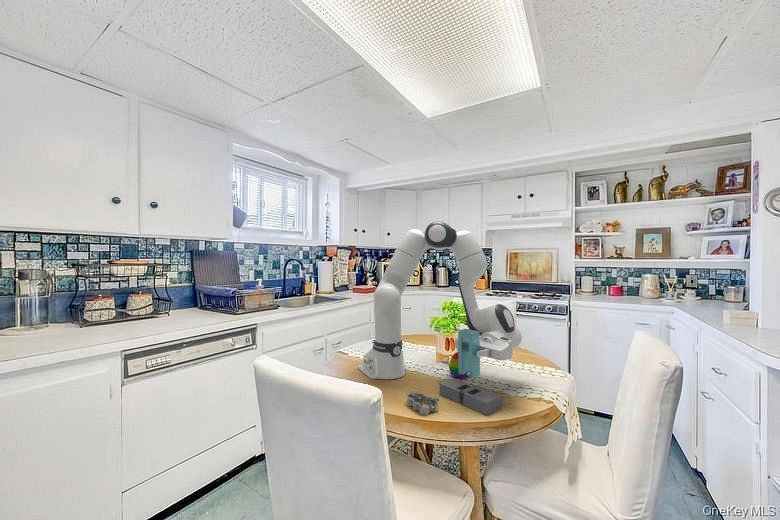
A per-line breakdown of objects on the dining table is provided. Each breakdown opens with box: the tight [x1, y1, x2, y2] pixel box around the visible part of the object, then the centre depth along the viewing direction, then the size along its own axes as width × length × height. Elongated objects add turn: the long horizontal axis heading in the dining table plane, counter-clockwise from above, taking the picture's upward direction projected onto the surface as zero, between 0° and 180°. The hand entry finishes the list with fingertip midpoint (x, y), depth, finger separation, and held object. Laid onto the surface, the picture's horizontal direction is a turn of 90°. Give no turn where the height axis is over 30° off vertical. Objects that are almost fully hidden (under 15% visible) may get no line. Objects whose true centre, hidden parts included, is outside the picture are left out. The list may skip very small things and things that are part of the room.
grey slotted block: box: [438, 377, 502, 416], centre depth 113 cm, size 20×8×4 cm, turn 38°
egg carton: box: [405, 391, 440, 415], centre depth 109 cm, size 11×8×4 cm
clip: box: [457, 328, 481, 379], centre depth 113 cm, size 6×4×15 cm, turn 39°
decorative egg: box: [448, 351, 469, 379], centre depth 136 cm, size 8×8×10 cm
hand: (467, 351), depth 112 cm, fingers closed on clip, 6 cm apart
